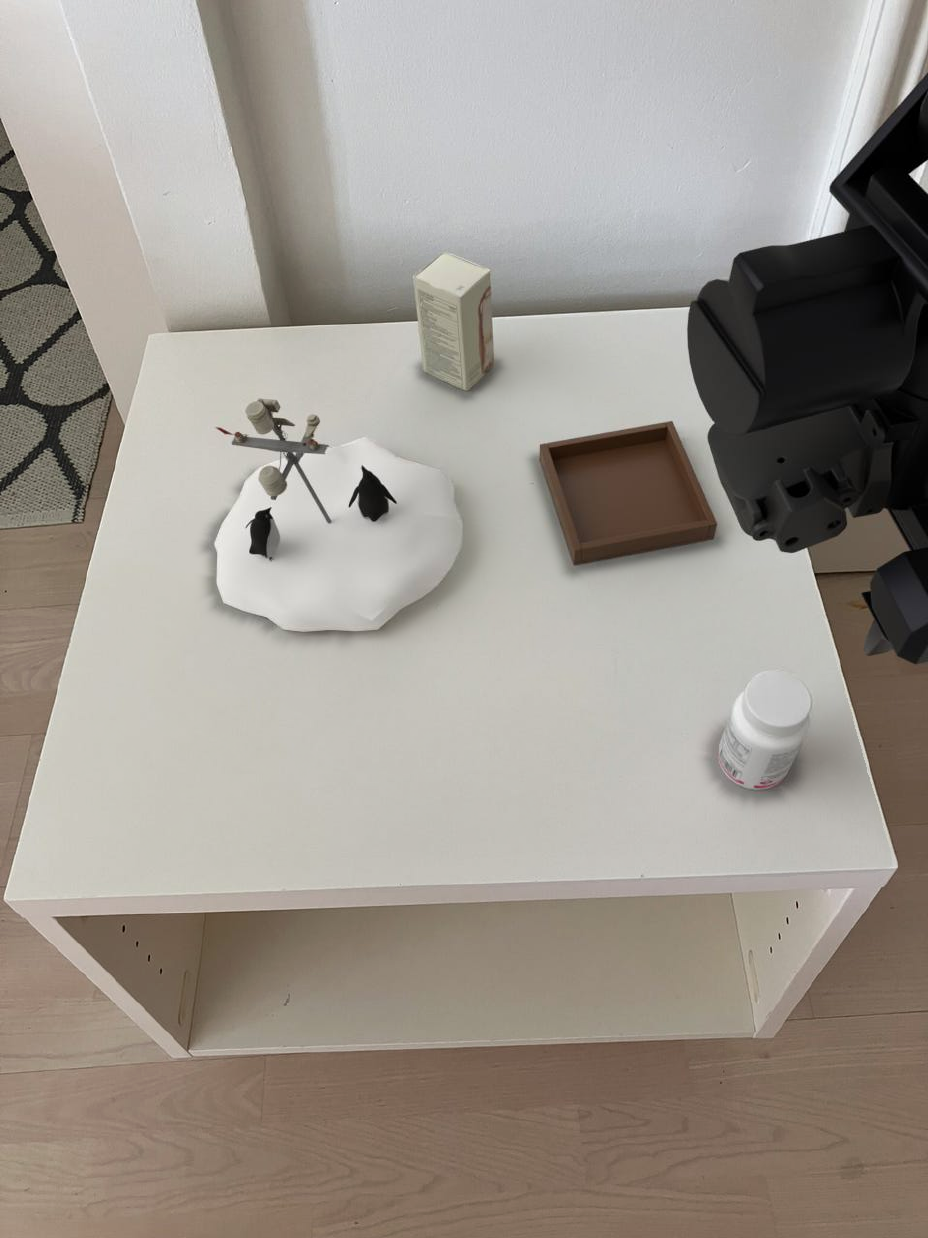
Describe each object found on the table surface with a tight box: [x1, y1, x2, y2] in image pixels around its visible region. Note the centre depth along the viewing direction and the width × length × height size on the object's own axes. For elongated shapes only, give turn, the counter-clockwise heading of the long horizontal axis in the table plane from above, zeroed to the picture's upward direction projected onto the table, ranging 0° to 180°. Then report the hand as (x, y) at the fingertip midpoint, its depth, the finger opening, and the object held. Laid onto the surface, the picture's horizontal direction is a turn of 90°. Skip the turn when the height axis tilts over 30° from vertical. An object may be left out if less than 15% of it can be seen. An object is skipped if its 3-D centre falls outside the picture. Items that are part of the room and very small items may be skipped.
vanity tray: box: [538, 420, 718, 566], centre depth 81 cm, size 11×11×2 cm
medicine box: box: [412, 250, 495, 392], centre depth 87 cm, size 5×4×10 cm
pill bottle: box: [717, 669, 813, 791], centre depth 65 cm, size 5×5×8 cm
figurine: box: [213, 398, 464, 633], centre depth 74 cm, size 20×18×16 cm
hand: (838, 580), depth 54 cm, fingers open, 9 cm apart
